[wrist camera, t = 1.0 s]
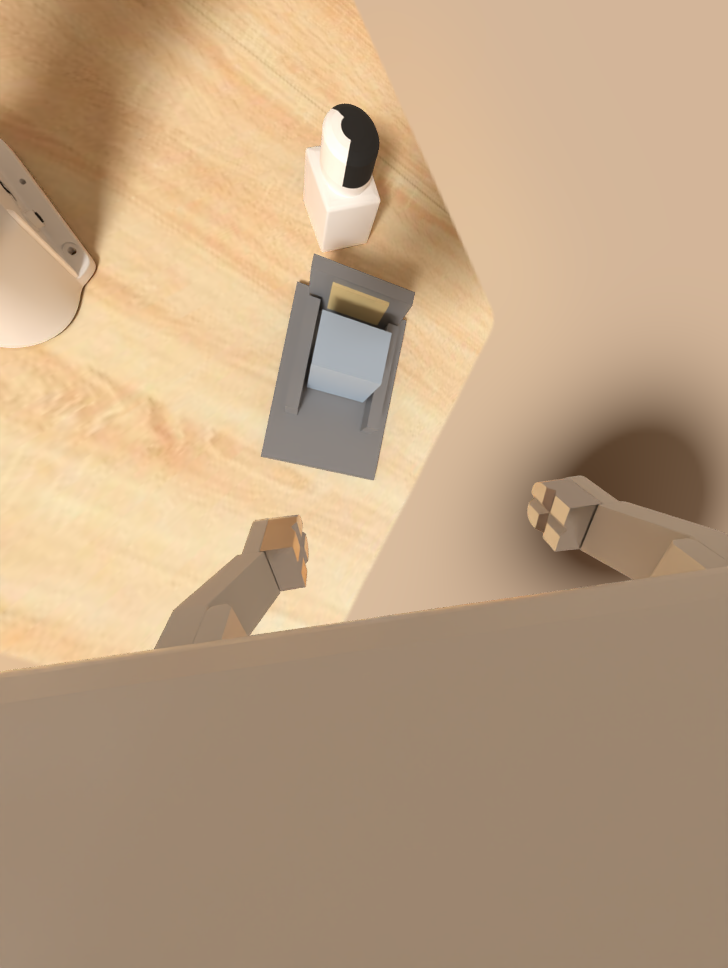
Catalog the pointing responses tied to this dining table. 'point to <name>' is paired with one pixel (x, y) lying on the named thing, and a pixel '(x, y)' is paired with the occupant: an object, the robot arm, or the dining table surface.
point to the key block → (348, 357)
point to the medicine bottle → (342, 179)
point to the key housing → (323, 416)
